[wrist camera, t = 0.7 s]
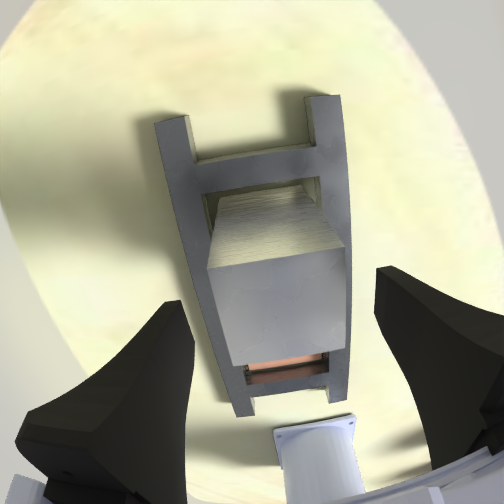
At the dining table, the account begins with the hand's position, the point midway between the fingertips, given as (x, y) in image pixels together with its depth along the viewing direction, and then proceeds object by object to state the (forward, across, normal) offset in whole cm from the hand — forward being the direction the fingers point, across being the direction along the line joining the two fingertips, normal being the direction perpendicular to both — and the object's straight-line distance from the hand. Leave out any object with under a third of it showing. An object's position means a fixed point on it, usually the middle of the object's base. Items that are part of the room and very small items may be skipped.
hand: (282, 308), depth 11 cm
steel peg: (+8, 0, 0) cm, 8 cm away
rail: (+8, 0, +4) cm, 9 cm away
